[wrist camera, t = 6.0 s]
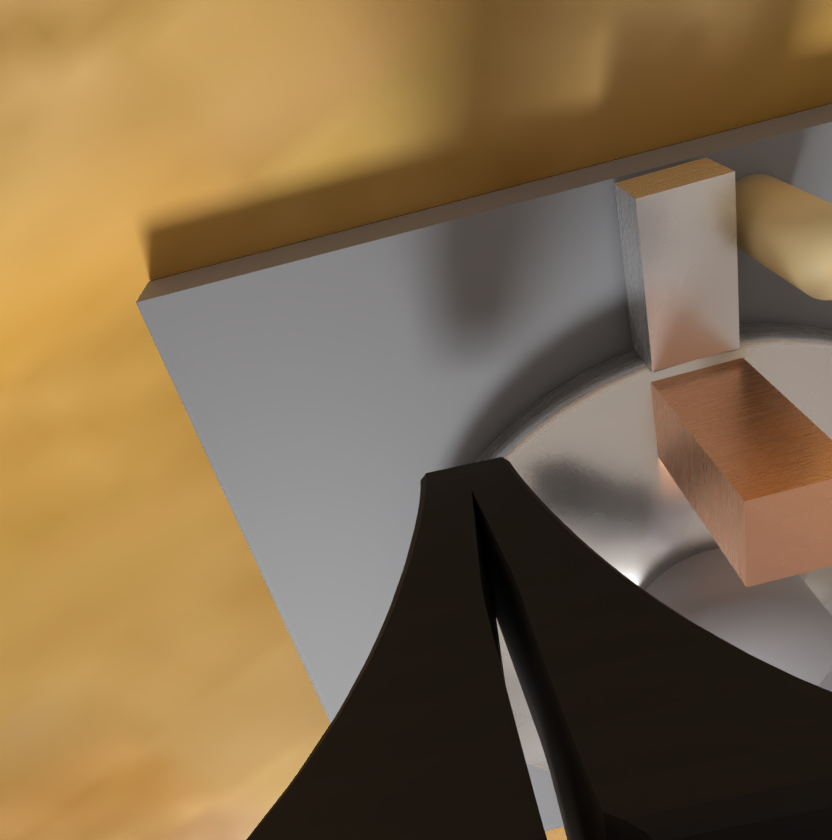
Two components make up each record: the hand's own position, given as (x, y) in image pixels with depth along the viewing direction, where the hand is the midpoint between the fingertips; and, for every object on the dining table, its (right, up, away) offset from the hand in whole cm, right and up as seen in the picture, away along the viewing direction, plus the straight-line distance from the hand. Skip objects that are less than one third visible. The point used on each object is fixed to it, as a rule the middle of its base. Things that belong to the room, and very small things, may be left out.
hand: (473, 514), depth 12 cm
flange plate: (+5, -1, +4) cm, 6 cm away
